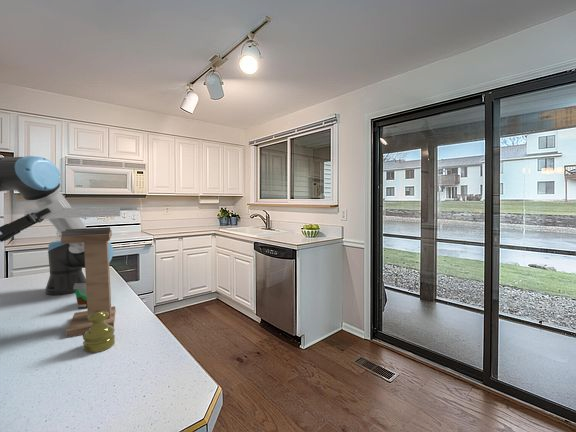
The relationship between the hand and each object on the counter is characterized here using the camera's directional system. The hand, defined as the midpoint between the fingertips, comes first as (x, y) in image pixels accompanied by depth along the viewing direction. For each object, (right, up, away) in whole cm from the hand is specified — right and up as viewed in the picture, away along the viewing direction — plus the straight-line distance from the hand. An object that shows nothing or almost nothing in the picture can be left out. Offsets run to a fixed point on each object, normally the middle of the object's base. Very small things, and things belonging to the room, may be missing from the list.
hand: (62, 204), depth 90 cm
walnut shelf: (+5, -39, +7) cm, 40 cm away
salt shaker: (+17, -40, -9) cm, 44 cm away
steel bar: (+3, -4, +2) cm, 5 cm away
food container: (-6, -38, +24) cm, 45 cm away
